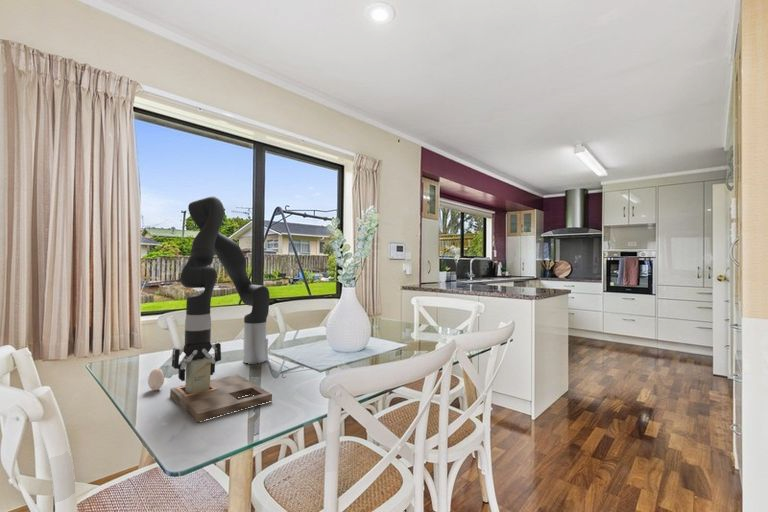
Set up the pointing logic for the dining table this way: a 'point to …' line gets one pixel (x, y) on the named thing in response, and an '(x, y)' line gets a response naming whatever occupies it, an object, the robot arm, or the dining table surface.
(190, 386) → the skincare box
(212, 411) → the socket board
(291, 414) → the dining table surface
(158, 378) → the egg
